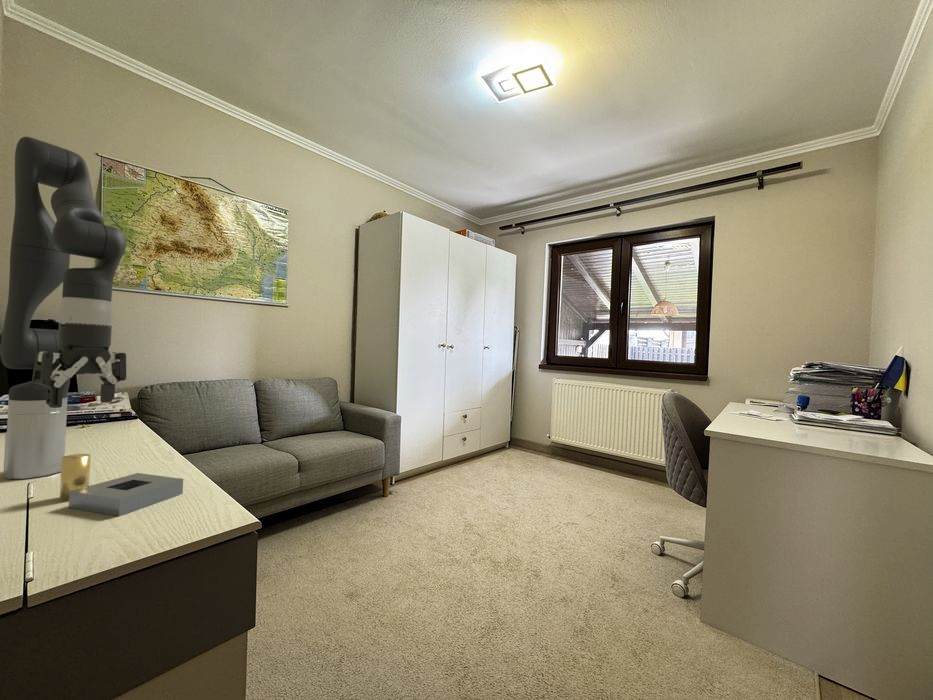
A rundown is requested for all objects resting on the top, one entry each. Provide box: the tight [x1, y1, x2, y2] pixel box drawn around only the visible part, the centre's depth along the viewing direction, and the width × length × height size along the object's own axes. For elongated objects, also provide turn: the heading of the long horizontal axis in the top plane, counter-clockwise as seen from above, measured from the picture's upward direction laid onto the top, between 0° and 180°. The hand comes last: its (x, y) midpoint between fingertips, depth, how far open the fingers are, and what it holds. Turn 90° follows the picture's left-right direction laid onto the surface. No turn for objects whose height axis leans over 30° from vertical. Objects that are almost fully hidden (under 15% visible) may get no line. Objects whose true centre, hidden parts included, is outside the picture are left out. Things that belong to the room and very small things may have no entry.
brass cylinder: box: [59, 453, 91, 502], centre depth 77 cm, size 4×4×8 cm
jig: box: [68, 472, 184, 517], centre depth 76 cm, size 12×12×3 cm
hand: (81, 404), depth 78 cm, fingers open, 8 cm apart
